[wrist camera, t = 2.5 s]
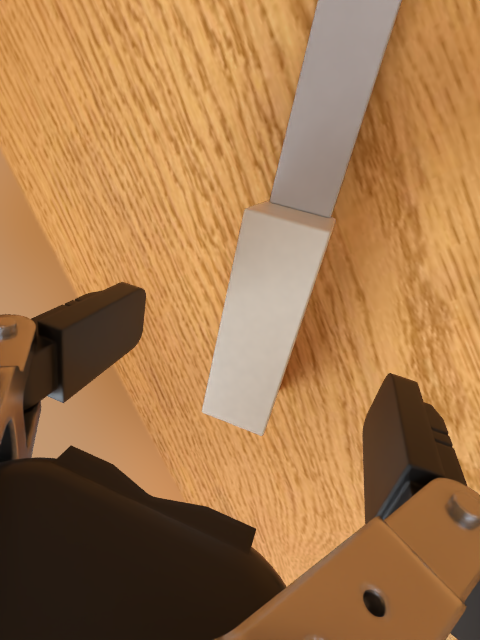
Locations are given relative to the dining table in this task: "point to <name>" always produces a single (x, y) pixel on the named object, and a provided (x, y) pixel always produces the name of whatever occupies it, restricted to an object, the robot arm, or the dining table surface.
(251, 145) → the dining table surface
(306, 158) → the knife
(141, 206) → the dining table surface
